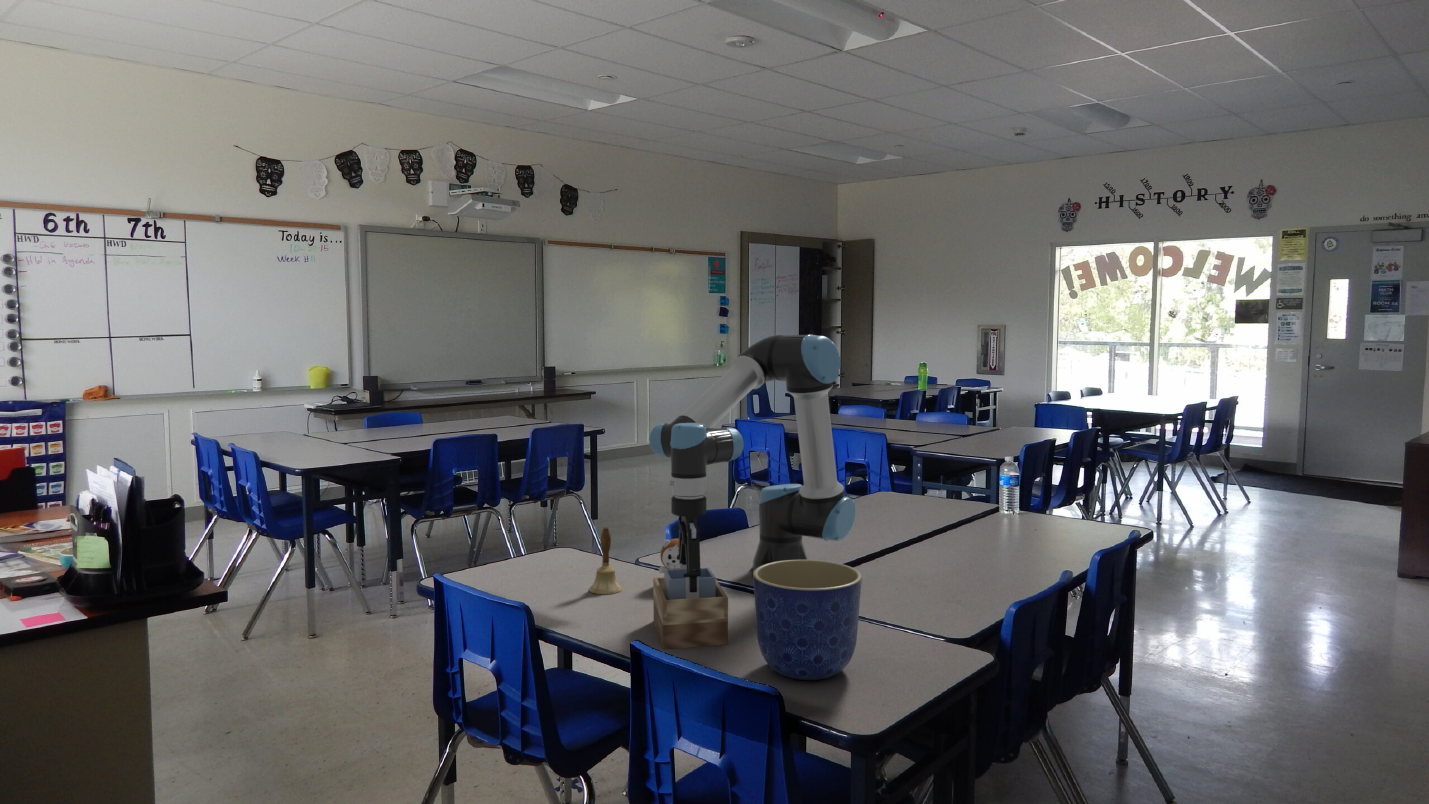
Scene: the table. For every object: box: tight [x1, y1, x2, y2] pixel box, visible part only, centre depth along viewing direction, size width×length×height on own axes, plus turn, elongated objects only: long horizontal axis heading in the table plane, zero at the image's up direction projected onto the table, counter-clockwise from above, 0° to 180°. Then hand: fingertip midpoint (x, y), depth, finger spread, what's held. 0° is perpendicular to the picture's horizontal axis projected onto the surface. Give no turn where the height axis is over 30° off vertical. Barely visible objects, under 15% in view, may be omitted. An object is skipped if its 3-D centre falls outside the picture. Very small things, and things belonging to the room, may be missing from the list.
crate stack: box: [652, 576, 729, 650], centre depth 192 cm, size 14×18×10 cm
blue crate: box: [663, 567, 717, 600], centre depth 192 cm, size 10×8×6 cm
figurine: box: [658, 537, 682, 574], centre depth 227 cm, size 9×9×12 cm
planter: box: [752, 559, 863, 681], centre depth 171 cm, size 21×21×19 cm
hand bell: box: [588, 526, 623, 595], centre depth 223 cm, size 8×8×16 cm
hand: (689, 599), depth 192 cm, fingers closed on blue crate, 8 cm apart
